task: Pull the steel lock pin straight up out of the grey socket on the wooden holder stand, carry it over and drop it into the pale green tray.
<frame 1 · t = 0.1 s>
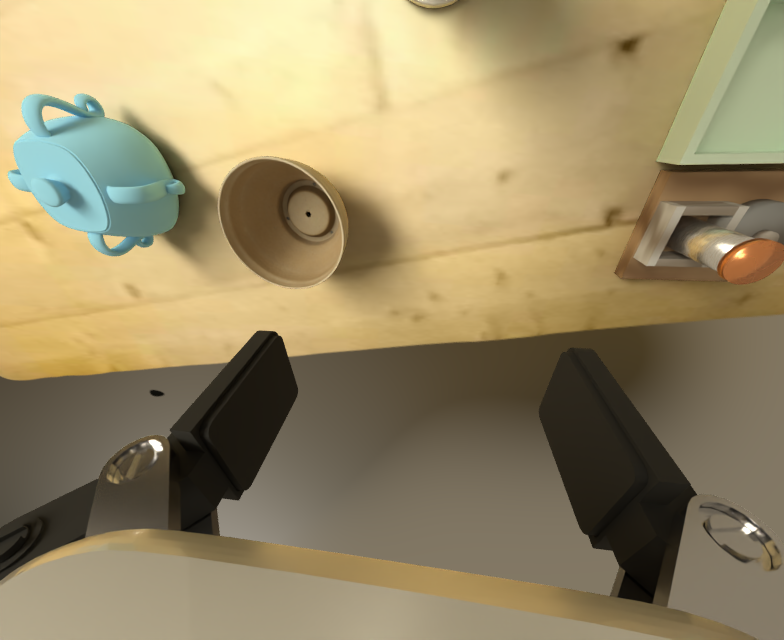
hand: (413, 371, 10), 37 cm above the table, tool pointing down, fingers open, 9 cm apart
lock pin: (677, 231, 37), point 2 cm above the table, touching wooden holder stand
decorative pot: (143, 176, 44), on the table
planter bowl: (312, 210, 44), on the table
tray: (760, 85, 30), on the table
wooden holder stand: (699, 227, 38), on the table
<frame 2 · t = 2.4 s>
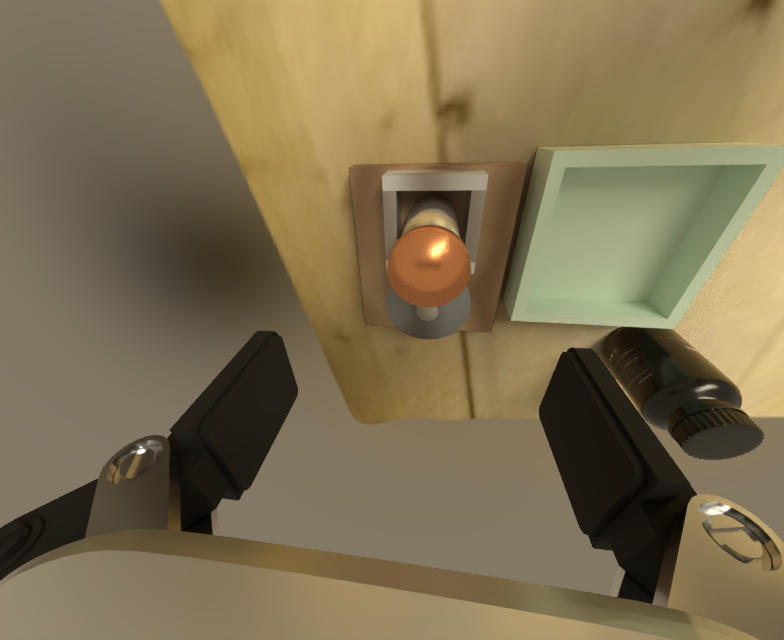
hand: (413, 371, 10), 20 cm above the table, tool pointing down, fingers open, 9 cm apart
lock pin: (432, 218, 24), point 2 cm above the table, touching wooden holder stand
tray: (599, 236, 25), on the table
supplement bottle: (633, 343, 31), on the table
wooden holder stand: (430, 253, 28), on the table
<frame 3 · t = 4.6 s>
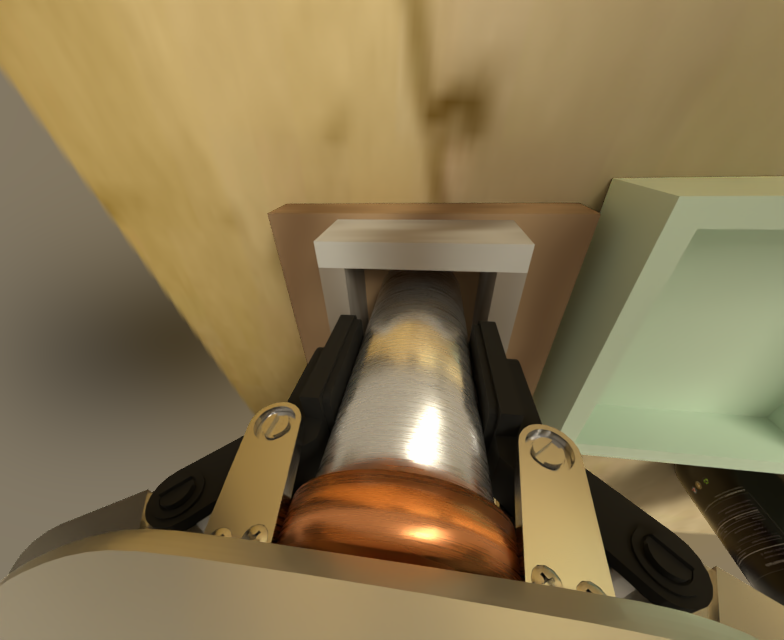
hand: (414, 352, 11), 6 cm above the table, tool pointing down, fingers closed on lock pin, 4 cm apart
lock pin: (419, 296, 14), point 2 cm above the table, touching gripper, wooden holder stand
tray: (700, 321, 15), on the table
supplement bottle: (723, 456, 21), on the table
wooden holder stand: (419, 335, 18), on the table
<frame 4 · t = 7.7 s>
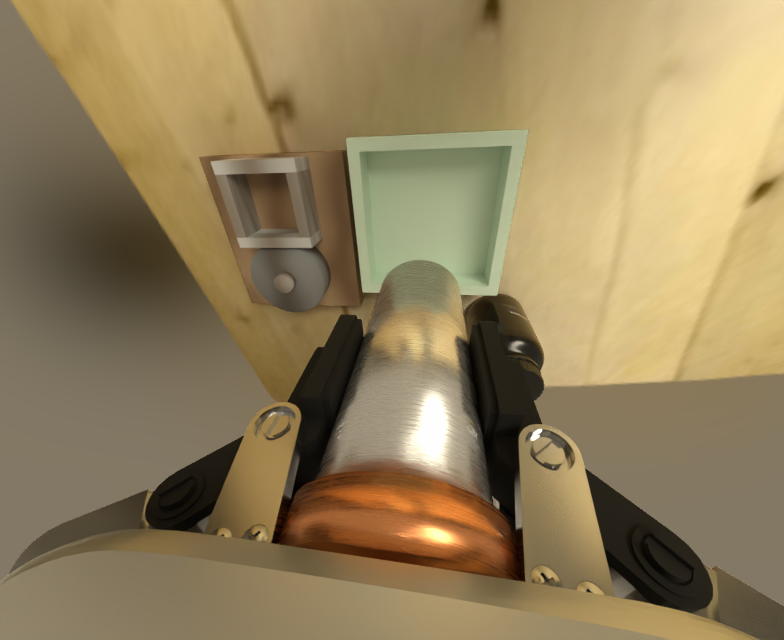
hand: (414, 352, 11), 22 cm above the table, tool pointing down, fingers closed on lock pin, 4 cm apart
lock pin: (419, 297, 14), point 18 cm above the table, touching gripper
tray: (430, 215, 29), on the table
supplement bottle: (492, 315, 35), on the table
wooden holder stand: (296, 235, 32), on the table
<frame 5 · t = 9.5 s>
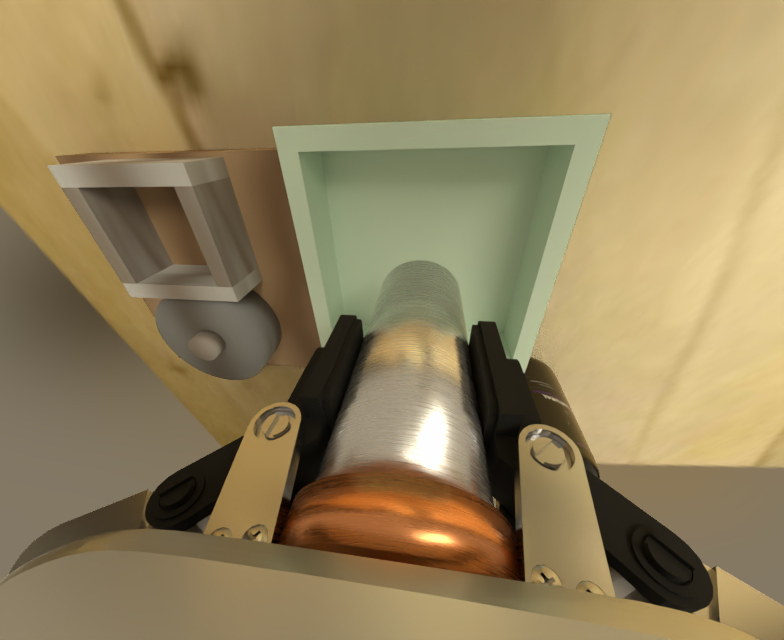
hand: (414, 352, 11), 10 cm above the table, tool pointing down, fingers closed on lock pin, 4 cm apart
lock pin: (419, 297, 14), point 6 cm above the table, touching gripper
tray: (425, 248, 19), on the table
supplement bottle: (510, 379, 25), on the table
wooden holder stand: (231, 269, 22), on the table
when the fingers open (7 cm above the table, at t = 10.8 s): lock pin drops 2 cm, resting on tray.
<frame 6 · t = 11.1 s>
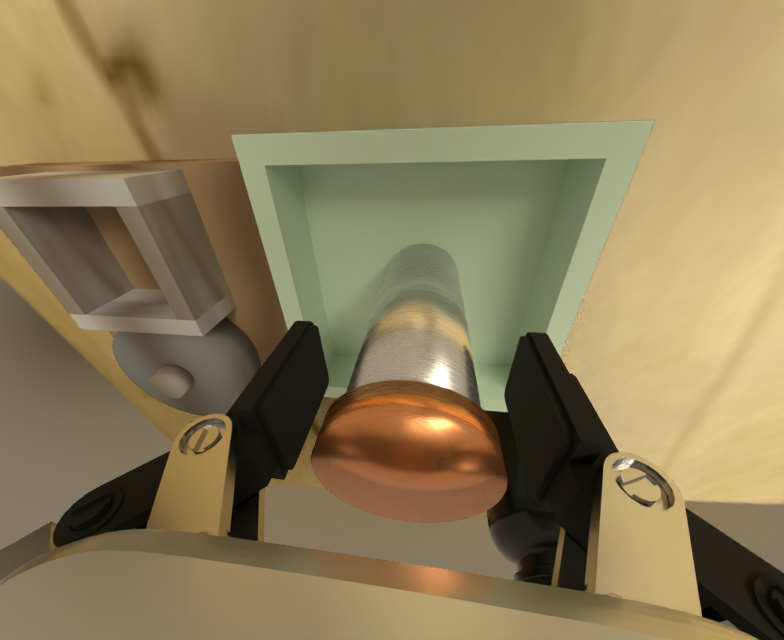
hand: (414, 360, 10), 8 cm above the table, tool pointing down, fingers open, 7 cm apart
lock pin: (422, 278, 16), point 1 cm above the table, touching tray
tray: (421, 271, 17), on the table
supplement bottle: (517, 411, 22), on the table
wooden holder stand: (204, 292, 19), on the table
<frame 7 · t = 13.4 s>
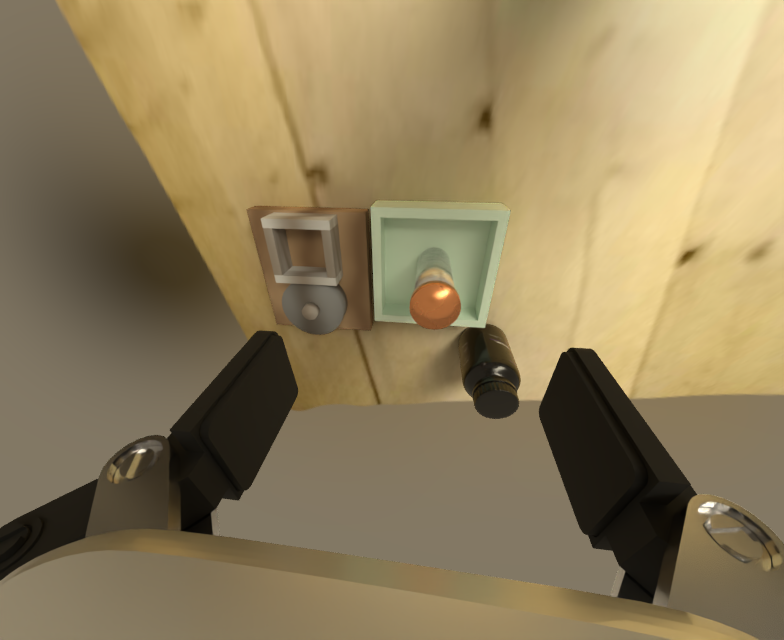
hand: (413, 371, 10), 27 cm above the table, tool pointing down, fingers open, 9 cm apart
lock pin: (433, 263, 34), point 1 cm above the table, touching tray
tray: (433, 260, 35), on the table
supplement bottle: (480, 340, 41), on the table
wooden holder stand: (320, 270, 38), on the table
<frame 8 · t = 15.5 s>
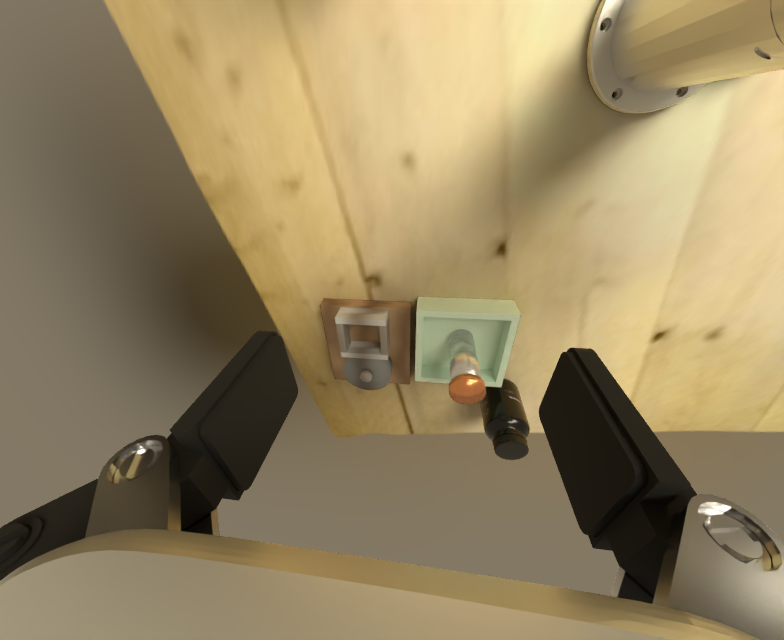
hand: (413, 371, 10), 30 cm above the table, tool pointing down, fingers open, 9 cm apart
lock pin: (460, 339, 45), point 1 cm above the table, touching tray
tray: (460, 335, 46), on the table
supplement bottle: (497, 389, 52), on the table
wooden holder stand: (370, 340, 49), on the table
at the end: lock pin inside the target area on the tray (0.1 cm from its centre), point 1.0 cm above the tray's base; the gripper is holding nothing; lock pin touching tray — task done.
